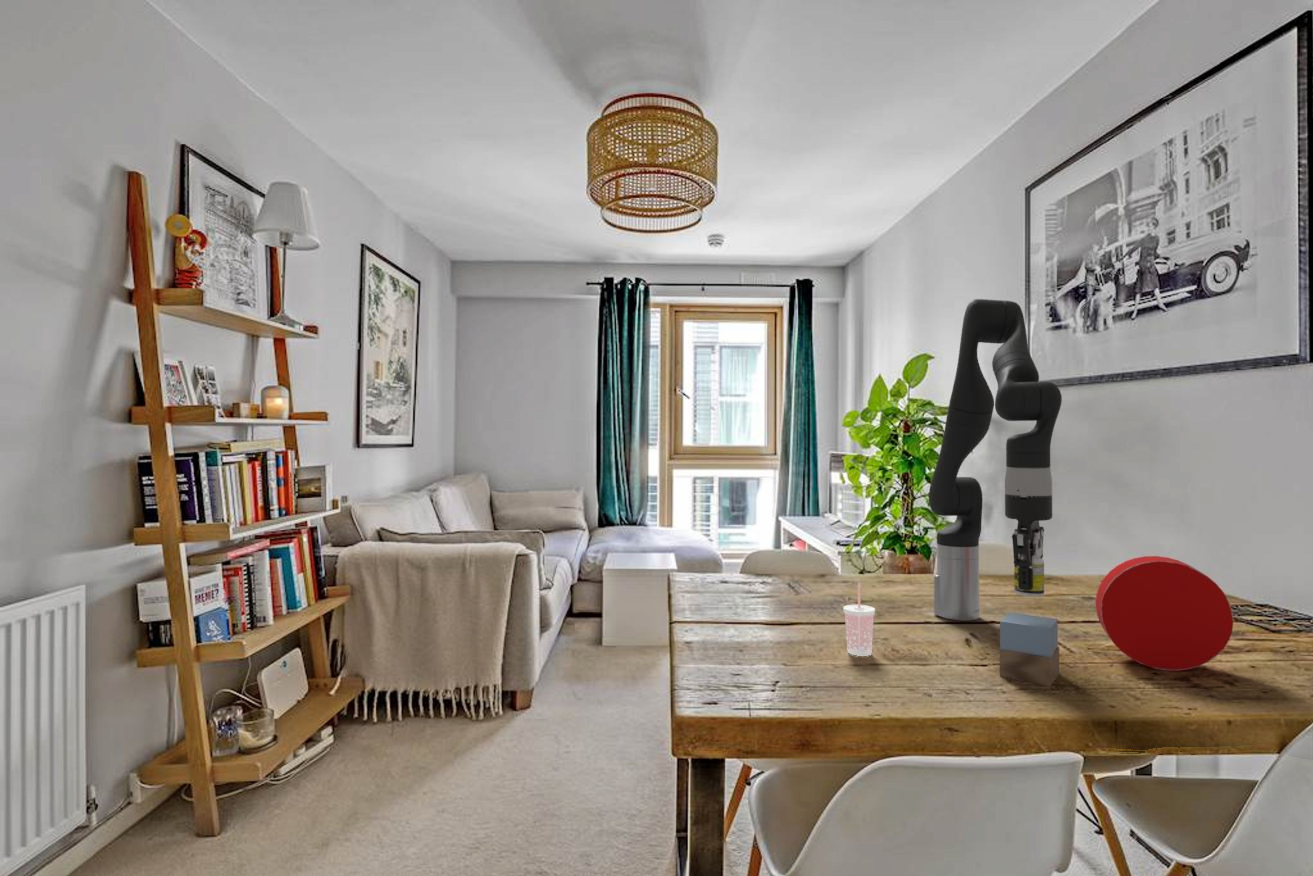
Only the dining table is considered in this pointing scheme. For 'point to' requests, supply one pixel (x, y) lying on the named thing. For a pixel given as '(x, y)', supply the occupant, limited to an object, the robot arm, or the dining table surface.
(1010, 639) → the tower top block
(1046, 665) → the tower base block
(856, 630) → the beverage cup
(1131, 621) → the red disc
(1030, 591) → the supplement bottle
